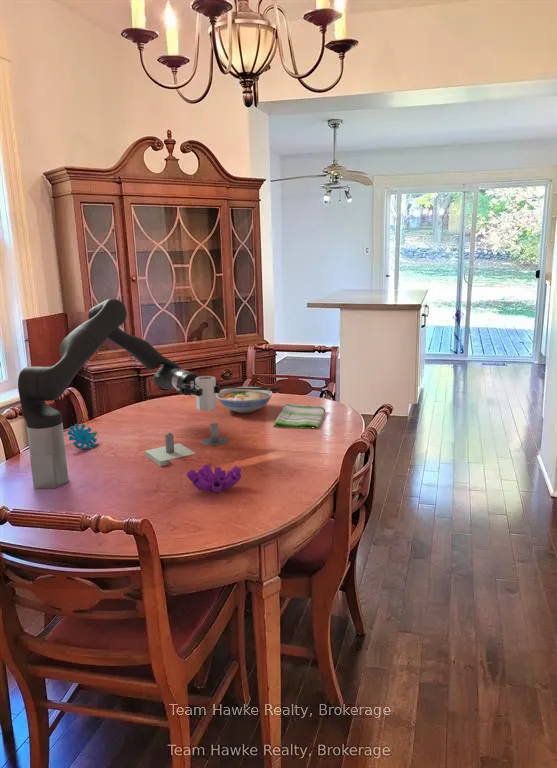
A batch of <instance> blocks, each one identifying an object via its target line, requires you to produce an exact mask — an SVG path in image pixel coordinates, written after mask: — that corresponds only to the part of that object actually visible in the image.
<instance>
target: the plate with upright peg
mask: <svg viewBox="0 0 557 768" xmlns="http://www.w3.org/2000/svg"><path fill="white" fill-rule="evenodd" d="M174 437H175V436H174V434H173V433H172V432H167V433H166V434H165V435H164V441H165V446H161V447H157V448H151V449H146V450H145V451H144V455H145V456H146V457H147V458H149V459H150V460H151V461H153V462H154V463H155V464H157V465H158V466H159V467H162V466H167V465H171V464H173V462H171V460H174V459H177V458H181V457H185V456H191V455H195V454H197V453H196V452H195V451H193V450H191V449H190V448H188V447H186V446H185V445H183V444H182V443H175V439H174ZM169 460H170V461H169Z"/></svg>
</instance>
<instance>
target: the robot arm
mask: <svg viewBox="0 0 557 768" xmlns="http://www.w3.org/2000/svg"><path fill="white" fill-rule="evenodd" d="M127 313H128V311H127V308H126V306H125V304H124V303H123V302H122V301H121V300H119V299H116V298H108V299H105V300H104V301H102V302H100V303H98V304H96V305H94V306H93V307H92V308H90V309H89V310H88V315H87V317H88V320H86V321H84V322H82V324H80V325H79V326H77V327H76V328H74V329H73V330H72V331H71V332H69V333H68V335H67V336H65V337H64V339H63V340H62V341H61V344H60V345H59V355H60V360H59V361H58V362H56V363H55V364H54V365H52V366H26V367H24V368H22V369H21V371H20V372H19V375H18V379H17V392H18V395H19V402H20V407H21V413H22V414H21V415H22V417H23V419H24V421H25V424H26V433H27V441H28V449H29V459H30V466H31V467H30V469H31V476H32V484H33V485H32V486H33V489H56V488H58V487H59V486H63V485H64V484H67V483H68V481H69V472H68V464H67V463H68V462H67V455H66V454H67V453H66V445H65V436H64V435H65V434H64V426H63V415H62V413H61V411H59V410H57V409H55V408H53V407H52V406H50V405H49V404H48V403H47V402H50V401H51V402H52V401H55V400H58V399H60V397H62V396H63V395H64V393H65V392H66V391H67V389H68V387H69V386H70V384H71V382H73V379H74V378H75V377H76V375H77V374H78V372H80V370H81V369H82V367H84V365H85V364H86V363H87V362H88V361H89V360H90V359H91V358H92V357H93V356H94V354H95V353H96V352H97V351H98V350H99V348H100V347H101V346H102V345H103V343H104V342H105V341H106V340H107V339H109V340H110V341H112V342H113V343H114V344H116V345H118V346H119V347H121V348H123V349H124V350H125V351H127V352H128V353H129V354H131V356H132V357H134V358H135V359H136V360H137V361H138V362H139V363H140V364H141V365H142V366H144V368H146V369H147V370H149V371H152V370H155V369H157V368H158V367H159V368H158V370H157V371H156V372H155V373H154V375H153V377H152V378H153V382H154V384H155V385H156V386H157V387H158V388H160V389H164V390H171V389H172V390H173V389H176V393H177V394H180V395H183V396H195V397H196V396H201V390H200V389H198V388H196V387H195V378H197V377H200V375H199V374H197V373H194V372H191V371H188V370H184V369H181V366H180V365H179V364H178V363H177V362H175V361H174V360H171V359H169V358H167V357H166V356H164V355H163V354H161V353H160V352H159V351H158V350H157V349H156V348H155V347H154V346H153V345H152V344H151V343H149V342H148V341H146V339H145V340H144V339H143V338H141V337H138V336H136V335H132V334H131V333H128V332H126V331H124V330H122V329H121V328H119V327H120V326H122V325H123V324H124V323H125V321H126V320H127ZM220 391H221V387H220V382H218V381H217V380H216V393H220Z"/></svg>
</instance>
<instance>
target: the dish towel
mask: <svg viewBox="0 0 557 768" xmlns="http://www.w3.org/2000/svg"><path fill="white" fill-rule="evenodd" d="M324 412H325V413H326V408H324V407H323V406H319V405H318V406H317V405H314V406H313V405H299V404H291V403H286V404H285V405H284V406H283V407H282V409H281V410H280V412H279V414H278V416H277V418H276V420H275V422H274V424H273V428H280V427H295V428H294V429H305V428H312V427H314V428H315V429H317V428H318V427H319V428H320V426H319V425H321V424H322V423H321V420H322V418H323V414H324ZM324 415H325V414H324ZM323 419H324V418H323ZM322 421H323V420H322ZM320 423H321V424H320ZM296 427H297V428H296ZM301 427H302V428H301ZM319 428H318V429H319Z"/></svg>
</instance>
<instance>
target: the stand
mask: <svg viewBox="0 0 557 768" xmlns="http://www.w3.org/2000/svg"><path fill="white" fill-rule="evenodd" d="M209 427H210V437H206V438H204V439H202V440H201V441H200V442H201V444H202V445H204V446H210V447H219V446H223V445H226V444H228V443H229V438H226V437H222V436H220V433H219V431H220V429H219V422H211V423H210V424H209Z"/></svg>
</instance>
